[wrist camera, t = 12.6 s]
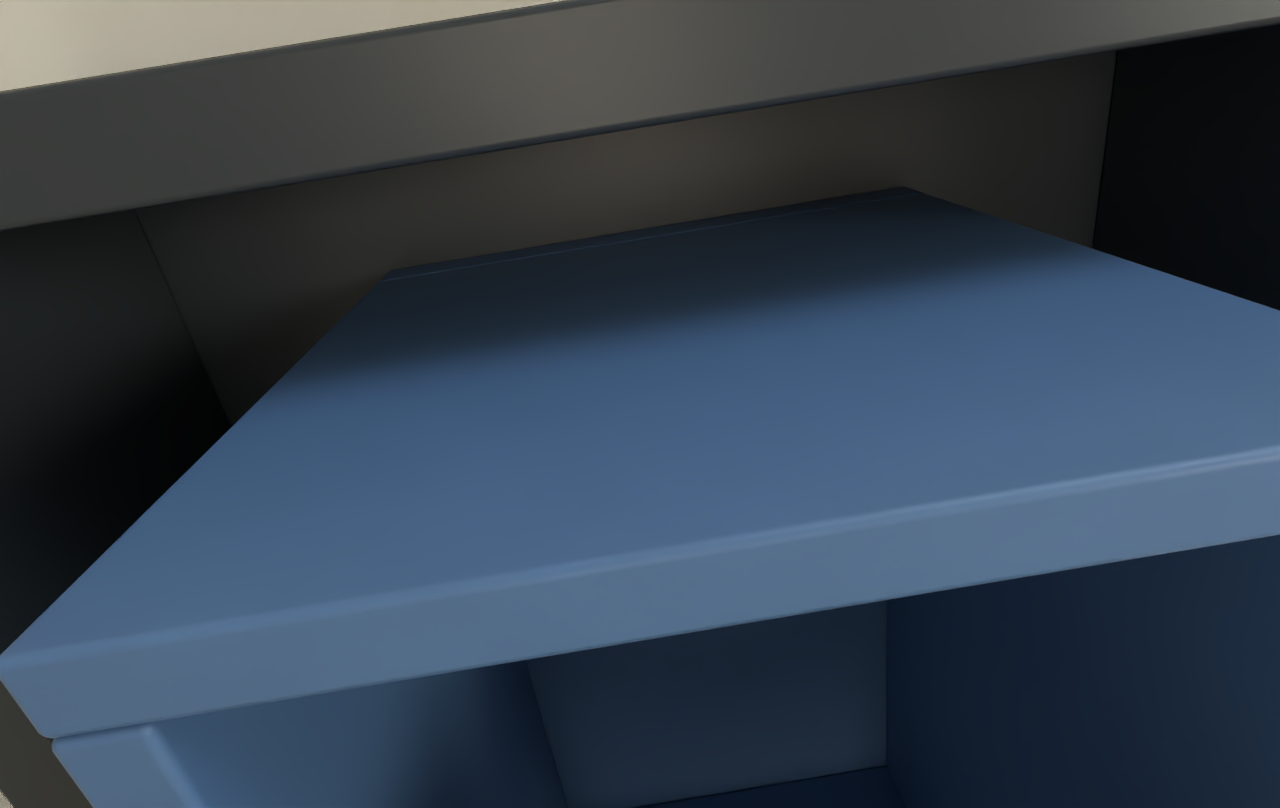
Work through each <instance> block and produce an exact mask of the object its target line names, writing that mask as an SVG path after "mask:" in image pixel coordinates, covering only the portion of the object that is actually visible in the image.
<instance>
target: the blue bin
mask: <svg viewBox="0 0 1280 808" xmlns="http://www.w3.org/2000/svg"><path fill="white" fill-rule="evenodd" d="M0 681H1V682H2V683H3V685H4V686H5V687H6V689H7V690H8V692H9V693H10V694H11V696H12V697H13V698H14V700H15V701H16V703H17V704H18V705H19V707H20V708H21V710H22V711H23V712H24V714H25V715H26V716H27V718H28V719H29V721H30V722H31V723H32V725H33V726H34V727H35V729H36V730H37V732H38V733H39V734H41V735H42V736H44V737H48V738H54V739H53V742H52V752H53V753H54V754H55V756H56V757H57V758H58V760H59V761H60V763H61V764H62V765H63V767H64V768H65V770H66V771H67V772H68V774H69V775H70V776H71V778H72V779H73V781H74V782H75V783H76V785H77V786H78V788H79V789H80V790H81V792H82V793H83V794H84V796H85V797H86V799H87V800H88V801H89V803H90V804H91V805H92V807H93V808H1280V311H1279V310H1276V309H1273V308H1270V307H1267V306H1264V305H1261V304H1258V303H1255V302H1252V301H1249V300H1246V299H1243V298H1240V297H1237V296H1234V295H1231V294H1228V293H1225V292H1222V291H1219V290H1216V289H1213V288H1209V287H1206V286H1203V285H1200V284H1197V283H1194V282H1191V281H1188V280H1185V279H1182V278H1179V277H1176V276H1173V275H1170V274H1167V273H1164V272H1161V271H1158V270H1155V269H1152V268H1149V267H1146V266H1143V265H1140V264H1137V263H1134V262H1131V261H1128V260H1125V259H1122V258H1119V257H1116V256H1113V255H1110V254H1107V253H1104V252H1101V251H1098V250H1095V249H1092V248H1089V247H1086V246H1083V245H1079V244H1076V243H1073V242H1070V241H1067V240H1064V239H1061V238H1058V237H1055V236H1052V235H1049V234H1046V233H1043V232H1040V231H1037V230H1034V229H1031V228H1028V227H1025V226H1022V225H1019V224H1016V223H1013V222H1010V221H1007V220H1004V219H1001V218H998V217H995V216H992V215H989V214H986V213H983V212H980V211H977V210H974V209H971V208H968V207H965V206H962V205H959V204H956V203H953V202H949V201H946V200H943V199H940V198H937V197H934V196H931V195H928V194H925V193H923V192H920V191H917V190H914V189H911V188H908V187H898V188H892V189H886V190H880V191H874V192H868V193H861V194H855V195H849V196H843V197H837V198H831V199H825V200H819V201H812V202H806V203H800V204H794V205H788V206H782V207H776V208H770V209H763V210H757V211H751V212H745V213H739V214H733V215H727V216H721V217H714V218H708V219H702V220H696V221H690V222H684V223H678V224H671V225H665V226H659V227H653V228H647V229H641V230H635V231H629V232H622V233H616V234H610V235H604V236H598V237H592V238H586V239H580V240H573V241H567V242H561V243H555V244H549V245H543V246H537V247H531V248H524V249H518V250H512V251H506V252H500V253H494V254H488V255H482V256H475V257H469V258H463V259H457V260H451V261H445V262H439V263H433V264H426V265H420V266H414V267H408V268H402V269H396V270H391V271H389V272H388V273H387V274H386V275H385V276H384V277H383V278H382V279H381V280H380V281H379V283H378V284H376V285H375V286H374V287H373V288H372V289H371V290H370V291H369V292H368V293H367V294H366V295H365V296H364V297H363V298H362V299H361V300H360V301H359V302H358V303H357V304H356V305H355V306H354V307H353V308H352V309H351V310H350V311H349V312H348V313H347V314H346V315H345V316H344V317H343V318H342V319H341V320H340V321H339V322H338V323H337V324H336V325H335V326H334V327H333V328H332V329H331V330H330V331H329V332H328V333H327V334H326V335H325V336H324V337H323V338H321V339H320V340H319V341H318V342H317V343H316V344H315V345H314V346H313V347H312V348H311V349H310V350H309V351H308V352H307V353H306V354H305V355H304V356H303V357H302V358H301V359H300V360H299V361H298V362H297V363H296V364H295V365H294V366H293V367H292V368H291V369H290V370H289V371H288V372H287V373H286V374H285V375H284V376H283V377H282V378H281V379H280V380H279V381H278V382H277V383H276V384H275V385H274V386H273V387H272V388H271V389H270V390H269V391H268V392H267V393H266V394H265V395H264V396H263V397H262V398H261V399H260V400H259V401H258V402H257V403H256V404H255V405H253V406H252V407H251V408H250V409H249V410H248V411H247V412H246V413H245V414H244V415H243V416H242V417H241V418H240V419H239V420H238V421H237V422H236V423H235V424H234V425H233V426H232V427H231V428H230V429H229V430H228V431H227V432H226V433H225V434H224V435H223V436H222V437H221V438H220V439H219V440H218V441H217V442H216V443H215V444H214V445H213V446H212V447H211V448H210V449H209V450H208V451H207V452H206V453H205V454H204V455H203V456H202V457H201V458H200V459H199V460H198V461H197V462H196V463H195V464H194V465H193V466H192V467H191V468H190V469H189V470H188V471H187V472H185V473H184V474H183V475H182V476H181V477H180V478H179V479H178V480H177V481H176V482H175V483H174V484H173V485H172V486H171V487H170V488H169V489H168V490H167V491H166V492H165V493H164V494H163V495H162V496H161V497H160V498H159V499H158V500H157V501H156V502H155V503H154V504H153V505H152V506H151V507H150V508H149V509H148V510H147V511H146V512H145V513H144V514H143V515H142V516H141V517H140V518H139V519H138V520H137V521H136V522H135V523H134V524H133V525H132V526H131V527H130V528H129V529H128V530H127V531H126V532H125V533H124V534H123V535H122V536H121V537H120V538H119V539H117V540H116V541H115V542H114V543H113V544H112V545H111V546H110V547H109V548H108V549H107V550H106V551H105V552H104V553H103V554H102V555H101V556H100V557H99V558H98V559H97V560H96V561H95V562H94V563H93V564H92V565H91V566H90V567H89V568H88V569H87V570H86V571H85V572H84V573H83V574H82V575H81V576H80V577H79V578H78V579H77V580H76V581H75V582H74V583H73V584H72V585H71V586H70V587H69V588H68V589H67V590H66V591H65V592H64V593H63V594H62V595H61V596H60V597H59V598H58V599H57V600H56V601H55V602H54V603H53V604H52V605H51V606H49V607H48V608H47V609H46V610H45V611H44V612H43V613H42V614H41V615H40V616H39V617H38V618H37V619H36V620H35V621H34V622H33V623H32V624H31V625H30V626H29V627H28V628H27V629H26V630H25V631H24V632H23V633H22V634H21V635H20V636H19V637H18V638H17V639H16V640H15V641H14V642H13V643H12V644H11V645H10V646H9V647H8V648H7V649H6V650H5V651H4V652H3V653H2V654H1V655H0Z"/></svg>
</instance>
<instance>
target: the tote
mask: <svg viewBox="0 0 1280 808" xmlns="http://www.w3.org/2000/svg"><path fill="white" fill-rule="evenodd" d="M898 187H908V188H911V189H914V190H917V191H920V192H923V193H925V194H928V195H931V196H934V197H937V198H940V199H943V200H946V201H949V202H953V203H956V204H959V205H962V206H965V207H968V208H971V209H974V210H977V211H980V212H983V213H986V214H989V215H992V216H995V217H998V218H1001V219H1004V220H1007V221H1010V222H1013V223H1016V224H1019V225H1022V226H1025V227H1028V228H1031V229H1034V230H1037V231H1040V232H1043V233H1046V234H1049V235H1052V236H1055V237H1058V238H1061V239H1064V240H1067V241H1070V242H1073V243H1076V244H1079V245H1083V246H1086V247H1089V248H1092V249H1095V250H1098V251H1101V252H1104V253H1107V254H1110V255H1113V256H1116V257H1119V258H1122V259H1125V260H1128V261H1131V262H1134V263H1137V264H1140V265H1143V266H1146V267H1149V268H1152V269H1155V270H1158V271H1161V272H1164V273H1167V274H1170V275H1173V276H1176V277H1179V278H1182V279H1185V280H1188V281H1191V282H1194V283H1197V284H1200V285H1203V286H1206V287H1209V288H1213V289H1216V290H1219V291H1222V292H1225V293H1228V294H1231V295H1234V296H1237V297H1240V298H1243V299H1246V300H1249V301H1252V302H1255V303H1258V304H1261V305H1264V306H1267V307H1270V308H1273V309H1276V310H1279V311H1280V0H565V1H559V2H553V3H547V4H540V5H534V6H528V7H522V8H516V9H509V10H503V11H497V12H491V13H485V14H478V15H472V16H466V17H460V18H454V19H447V20H441V21H435V22H429V23H423V24H416V25H410V26H404V27H398V28H391V29H385V30H379V31H373V32H367V33H360V34H354V35H348V36H342V37H336V38H329V39H323V40H317V41H311V42H305V43H298V44H292V45H286V46H280V47H274V48H267V49H261V50H255V51H249V52H243V53H236V54H230V55H224V56H218V57H212V58H205V59H199V60H193V61H187V62H181V63H174V64H168V65H162V66H156V67H150V68H143V69H137V70H131V71H125V72H119V73H112V74H106V75H100V76H94V77H88V78H81V79H75V80H69V81H63V82H57V83H50V84H44V85H38V86H32V87H26V88H19V89H13V90H7V91H1V92H0V655H1V654H2V653H3V652H4V651H5V650H6V649H7V648H8V647H9V646H10V645H11V644H12V643H13V642H14V641H15V640H16V639H17V638H18V637H19V636H20V635H21V634H22V633H23V632H24V631H25V630H26V629H27V628H28V627H29V626H30V625H31V624H32V623H33V622H34V621H35V620H36V619H37V618H38V617H39V616H40V615H41V614H42V613H43V612H44V611H45V610H46V609H47V608H48V607H49V606H51V605H52V604H53V603H54V602H55V601H56V600H57V599H58V598H59V597H60V596H61V595H62V594H63V593H64V592H65V591H66V590H67V589H68V588H69V587H70V586H71V585H72V584H73V583H74V582H75V581H76V580H77V579H78V578H79V577H80V576H81V575H82V574H83V573H84V572H85V571H86V570H87V569H88V568H89V567H90V566H91V565H92V564H93V563H94V562H95V561H96V560H97V559H98V558H99V557H100V556H101V555H102V554H103V553H104V552H105V551H106V550H107V549H108V548H109V547H110V546H111V545H112V544H113V543H114V542H115V541H116V540H117V539H119V538H120V537H121V536H122V535H123V534H124V533H125V532H126V531H127V530H128V529H129V528H130V527H131V526H132V525H133V524H134V523H135V522H136V521H137V520H138V519H139V518H140V517H141V516H142V515H143V514H144V513H145V512H146V511H147V510H148V509H149V508H150V507H151V506H152V505H153V504H154V503H155V502H156V501H157V500H158V499H159V498H160V497H161V496H162V495H163V494H164V493H165V492H166V491H167V490H168V489H169V488H170V487H171V486H172V485H173V484H174V483H175V482H176V481H177V480H178V479H179V478H180V477H181V476H182V475H183V474H184V473H185V472H187V471H188V470H189V469H190V468H191V467H192V466H193V465H194V464H195V463H196V462H197V461H198V460H199V459H200V458H201V457H202V456H203V455H204V454H205V453H206V452H207V451H208V450H209V449H210V448H211V447H212V446H213V445H214V444H215V443H216V442H217V441H218V440H219V439H220V438H221V437H222V436H223V435H224V434H225V433H226V432H227V431H228V430H229V429H230V428H231V427H232V426H233V425H234V424H235V423H236V422H237V421H238V420H239V419H240V418H241V417H242V416H243V415H244V414H245V413H246V412H247V411H248V410H249V409H250V408H251V407H252V406H253V405H255V404H256V403H257V402H258V401H259V400H260V399H261V398H262V397H263V396H264V395H265V394H266V393H267V392H268V391H269V390H270V389H271V388H272V387H273V386H274V385H275V384H276V383H277V382H278V381H279V380H280V379H281V378H282V377H283V376H284V375H285V374H286V373H287V372H288V371H289V370H290V369H291V368H292V367H293V366H294V365H295V364H296V363H297V362H298V361H299V360H300V359H301V358H302V357H303V356H304V355H305V354H306V353H307V352H308V351H309V350H310V349H311V348H312V347H313V346H314V345H315V344H316V343H317V342H318V341H319V340H320V339H321V338H323V337H324V336H325V335H326V334H327V333H328V332H329V331H330V330H331V329H332V328H333V327H334V326H335V325H336V324H337V323H338V322H339V321H340V320H341V319H342V318H343V317H344V316H345V315H346V314H347V313H348V312H349V311H350V310H351V309H352V308H353V307H354V306H355V305H356V304H357V303H358V302H359V301H360V300H361V299H362V298H363V297H364V296H365V295H366V294H367V293H368V292H369V291H370V290H371V289H372V288H373V287H374V286H375V285H376V284H378V283H379V281H380V280H381V279H382V278H383V277H384V276H385V275H386V274H387V273H388V272H389V271H391V270H396V269H402V268H408V267H414V266H420V265H426V264H433V263H439V262H445V261H451V260H457V259H463V258H469V257H475V256H482V255H488V254H494V253H500V252H506V251H512V250H518V249H524V248H531V247H537V246H543V245H549V244H555V243H561V242H567V241H573V240H580V239H586V238H592V237H598V236H604V235H610V234H616V233H622V232H629V231H635V230H641V229H647V228H653V227H659V226H665V225H671V224H678V223H684V222H690V221H696V220H702V219H708V218H714V217H721V216H727V215H733V214H739V213H745V212H751V211H757V210H763V209H770V208H776V207H782V206H788V205H794V204H800V203H806V202H812V201H819V200H825V199H831V198H837V197H843V196H849V195H855V194H861V193H868V192H874V191H880V190H886V189H892V188H898ZM53 739H54V738H48V737H44V736H42V735H41V734H39V733H38V732H37V730H36V729H35V727H34V726H33V725H32V723H31V722H30V721H29V719H28V718H27V716H26V715H25V714H24V712H23V711H22V710H21V708H20V707H19V705H18V704H17V703H16V701H15V700H14V698H13V697H12V696H11V694H10V693H9V692H8V690H7V689H6V687H5V686H4V685H3V683H2V682H1V681H0V791H1V792H2V794H3V795H4V796H5V797H6V799H7V800H8V801H9V802H10V804H11V805H12V806H13V807H14V808H93V807H92V805H91V804H90V803H89V801H88V800H87V799H86V797H85V796H84V794H83V793H82V792H81V790H80V789H79V788H78V786H77V785H76V783H75V782H74V781H73V779H72V778H71V776H70V775H69V774H68V772H67V771H66V770H65V768H64V767H63V765H62V764H61V763H60V761H59V760H58V758H57V757H56V756H55V754H54V753H53V752H52V742H53Z"/></svg>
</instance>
